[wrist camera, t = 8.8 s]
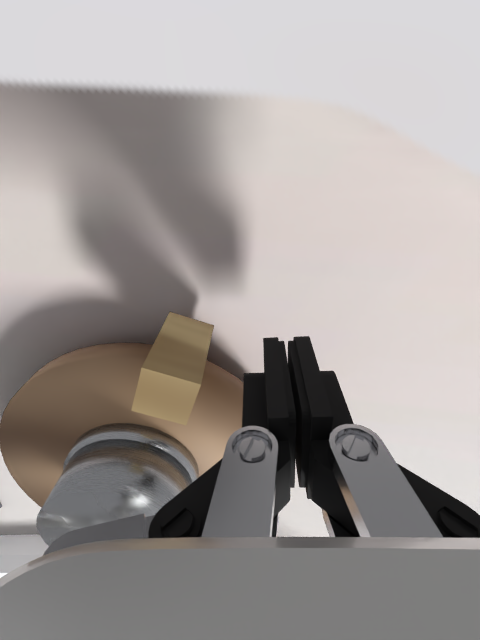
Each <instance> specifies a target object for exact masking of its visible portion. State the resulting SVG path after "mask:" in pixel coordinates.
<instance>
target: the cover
mask: <svg viewBox="0 0 480 640" xmlns="http://www.w3.org/2000/svg"><path fill="white" fill-rule="evenodd" d="M197 478H199V468H198V464H197V462H196V460H195V458H194V456H193V455H192V453H191V452H190V451H189V450H188V448H187V447H186V446H184V445H183V444H182V443H181V442H180V441H178V440H177V439H175V438H174V437H172V436H170V435H169V434H167V433H165V432H162V431H160V430H158V429H155V428H152V427H148V426H144V425H139V424H132V423H113V424H106V425H102V426H98V427H95V428H93V429H91V430H89V431H87V432H85V433H84V434H83V435H82V436H80V437H79V438H78V440H77V441H76V442H75V444H74V445H73V447H72V449H71V450H70V452H69V454H68V455H67V457H66V459H65V462H64V465H63V472H62V474H61V476H60V477H59V479H58V481H57V483H56V484H55V486H54V488H53V489H52V491H51V493H50V495H49V496H48V498H47V500H46V501H45V503H44V505H43V507H42V508H41V510H40V512H39V514H38V516H37V529H38V532H39V534H40V536H41V537H42V539H43V540H44V542H45V543H46V544H47V545H48V546H50V545H51V544H52V542H53V541H55V540H56V539H57V538H59V537H60V536H61V535H63V534H65V533H67V532H70V531H72V530H76V529H80V528H84V527H88V526H93V525H97V524H101V523H105V522H109V521H113V520H118V519H122V518H126V517H130V516H134V515H139V514H143V513H144V515H145V517H147V516H151V515H155V514H156V513H157V512H158V511H159V510H160V509H161V508H162V507H163V506H164V505H165V504H166V503H168V502H169V501H170V500H171V499H172V498H174V497H175V496H176V495H177V494H179V493H180V492H181V491H182V490H184V489H185V488H186V487H187V486H189V485H190V484H191V483H192V482H194V481H195V480H196V479H197Z"/></svg>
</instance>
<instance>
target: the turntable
mask: <svg viewBox="0 0 480 640" xmlns="http://www.w3.org/2000/svg"><path fill="white" fill-rule="evenodd" d="M213 327H214V325H211V324H208V323H204V322H201V321H198V320H195V319H191V318H188V317H185V316H182V315H179V314H175V313H172V312H169V314H168V316H167V318H166V320H165V322H164V324H163V326H162V328H161V330H160V332H159V334H158V336H157V338H156V340H155V342H154V344H153V345H150V344H143V343H110V344H100V345H94V346H90V347H85V348H81V349H77V350H75V351H72V352H69V353H67V354H64V355H62V356H60V357H58V358H56V359H54V360H52V361H51V362H49V363H47V364H46V365H45V366H43V367H42V368H41V369H40V370H38V371H37V372H36V373H35V374H34V375H33V376H32V377H31V378H30V379H29V380H28V381H27V382H26V383H25V384H24V385H23V386H22V387H21V388H20V389H19V391H18V392H17V393H16V394H15V395H14V396H13V398H12V399H11V400H10V401H9V403H8V405H7V407H6V409H5V410H4V412H3V416H2V419H1V423H0V449H1V453H2V456H3V459H4V462H5V464H6V466H7V468H8V470H9V472H10V474H11V475H12V477H13V478H14V479H15V481H16V482H17V484H18V485H19V486H20V487H21V489H22V490H23V491H24V492H25V493H26V494H27V495H28V496H29V497H30V498H31V499H32V500H33V501H35V502H36V503H37V504H38V505H39V506H40V507H43V505H44V503H45V501H46V500H47V498H48V496H49V495H50V493H51V491H52V489H53V488H54V486H55V484H56V483H57V481H58V479H59V477H60V476H61V474H62V472H63V465H64V462H65V459H66V457H67V455H68V454H69V452H70V450H71V449H72V447H73V445H74V444H75V442H76V441H77V440H78V438H79V437H80V436H82V435H83V434H84V433H85V432H87V431H89V430H91V429H93V428H95V427H98V426H102V425H106V424H113V423H132V424H139V425H144V426H148V427H152V428H155V429H158V430H160V431H162V432H165V433H167V434H169V435H170V436H172V437H174V438H175V439H177V440H178V441H180V442H181V443H182V444H183V445H184V446H186V447H187V448H188V450H189V451H190V452H191V453H192V455H193V456H194V458H195V460H196V462H197V464H198V468H199V477H200V476H201V475H202V474H204V473H205V472H206V471H207V470H208V469H210V468H211V467H212V466H213V465H215V464H216V463H217V462H218V461H220V460H221V459H222V458H223V455H224V451H225V448H226V444H227V441H228V439H229V437H230V436H231V435H232V434H233V433H234V432H235V431H236V430H238V429H240V428H242V411H243V384H244V383H243V382H242V381H241V380H239V379H238V378H237V377H236V376H234V375H232V374H231V373H229V372H228V371H226V370H224V369H223V368H221V367H220V366H217V365H215V364H213V363H211V362H209V361H207V360H206V359H207V355H208V350H209V345H210V341H211V336H212V332H213Z"/></svg>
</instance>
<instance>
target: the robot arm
mask: <svg viewBox="0 0 480 640" xmlns="http://www.w3.org/2000/svg"><path fill="white" fill-rule="evenodd" d="M263 343H264V373H244V384H243V411H242V428H240V429H238V430H236V431H235V432H234V433H233V434H232V435H231V436H230V437H229V439H228V441H227V444H226V448H225V451H224V455H223V458H222V459H221V460H220V461H218V462H217V463H216V464H215V465H213V466H212V467H211V468H210V469H208V470H207V471H206V472H205V473H204V474H202V475H201V476H200V477H199V478H197V479H196V480H195V481H194V482H192V483H191V484H190V485H189V486H187V487H186V488H185V489H184V490H182V491H181V492H180V493H179V494H177V495H176V496H175V497H174V498H172V499H171V500H170V501H169V502H168V503H166V504H165V505H164V506H163V507H162V508H161V509H160V510H159V511H158V512H157V513H156V514H155V515H151V516H147V517H145V515H144V513H143V514H139V515H134V516H130V517H126V518H122V519H118V520H113V521H109V522H105V523H101V524H97V525H93V526H88V527H84V528H80V529H76V530H72V531H70V532H67V533H65V534H63V535H61V536H60V537H59V538H57V539H56V540H55V541H53V542H52V544H51V545H50V546H49V547H48V548H47V550H46V551H45V552H44V554H43V556H42V557H39V558H37V559H35V560H32V561H30V562H28V563H26V564H24V565H22V566H20V567H18V568H16V569H15V570H13V571H11V572H9V573H8V574H6V575H4V576H3V577H1V578H0V640H480V515H478V514H477V513H476V512H475V511H474V510H472V509H471V508H470V507H468V506H467V505H465V504H464V503H462V502H460V501H459V500H457V499H455V498H454V497H452V496H450V495H449V494H447V493H445V492H444V491H442V490H440V489H439V488H437V487H435V486H434V485H432V484H430V483H429V482H427V481H425V480H424V479H422V478H420V477H419V476H417V475H416V474H414V473H412V472H411V471H409V470H407V469H406V468H404V467H402V466H401V465H399V464H397V463H396V462H395V460H394V459H393V457H392V456H391V454H390V452H389V451H388V449H387V448H386V446H385V445H384V443H383V441H382V440H381V439H380V438H379V436H378V435H377V434H376V433H374V432H373V431H372V430H370V429H368V428H366V427H364V426H361V425H356V424H353V421H352V418H351V415H350V413H349V410H348V407H347V404H346V402H345V399H344V396H343V393H342V391H341V388H340V385H339V383H338V380H337V377H336V374H335V372H334V371H320V370H319V367H318V364H317V360H316V357H315V354H314V350H313V347H312V344H311V340H310V337H309V336H304V337H294V340H293V341H288V363H287V357H286V350H285V344H284V341H278V337H276V338H263ZM295 459H296V467H297V474H298V481H299V487H306V493H307V499H312V501H313V502H315V503H316V504H317V505H318V506H320V507H321V508H322V513H323V518H324V521H325V524H326V527H327V530H328V533H329V536H330V537H277V535H278V522H279V512H280V511H281V509H282V508H283V507H284V506H285V505H286V504H287V503H288V502H289V501H290V488H294V485H295Z"/></svg>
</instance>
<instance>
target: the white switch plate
mask: <svg viewBox="0 0 480 640" xmlns="http://www.w3.org/2000/svg"><path fill="white" fill-rule="evenodd" d="M48 547H49V546H48V545H47V544H46V543H45V542H44V540H43V539H42V537H41V536H40V534H28V535H0V578H1V577H3V576H4V575H6V574H8V573H9V572H11V571H13V570H15V569H16V568H18V567H20V566H22V565H24V564H26V563H28V562H30V561H32V560H35V559H37V558H39V557H42V556H43V554H44V552H45V551H46V550H47V548H48Z"/></svg>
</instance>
